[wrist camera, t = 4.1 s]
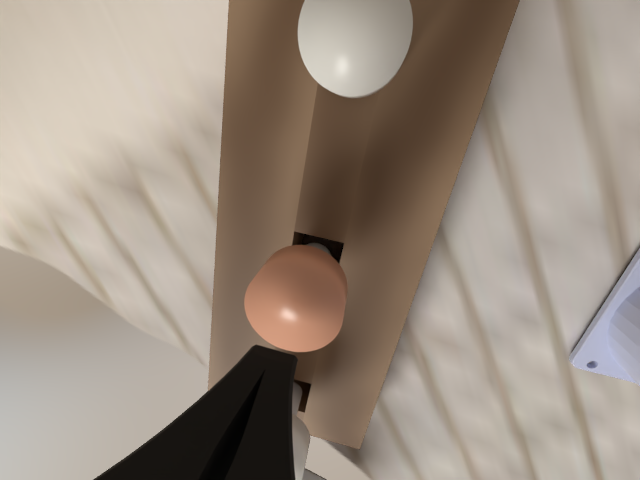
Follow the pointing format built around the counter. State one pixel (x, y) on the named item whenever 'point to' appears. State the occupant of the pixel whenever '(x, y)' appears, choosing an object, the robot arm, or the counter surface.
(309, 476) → the medicine box
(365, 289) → the rack
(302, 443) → the knob
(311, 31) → the knob
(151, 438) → the robot arm
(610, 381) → the counter surface
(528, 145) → the counter surface
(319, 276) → the knob middle
